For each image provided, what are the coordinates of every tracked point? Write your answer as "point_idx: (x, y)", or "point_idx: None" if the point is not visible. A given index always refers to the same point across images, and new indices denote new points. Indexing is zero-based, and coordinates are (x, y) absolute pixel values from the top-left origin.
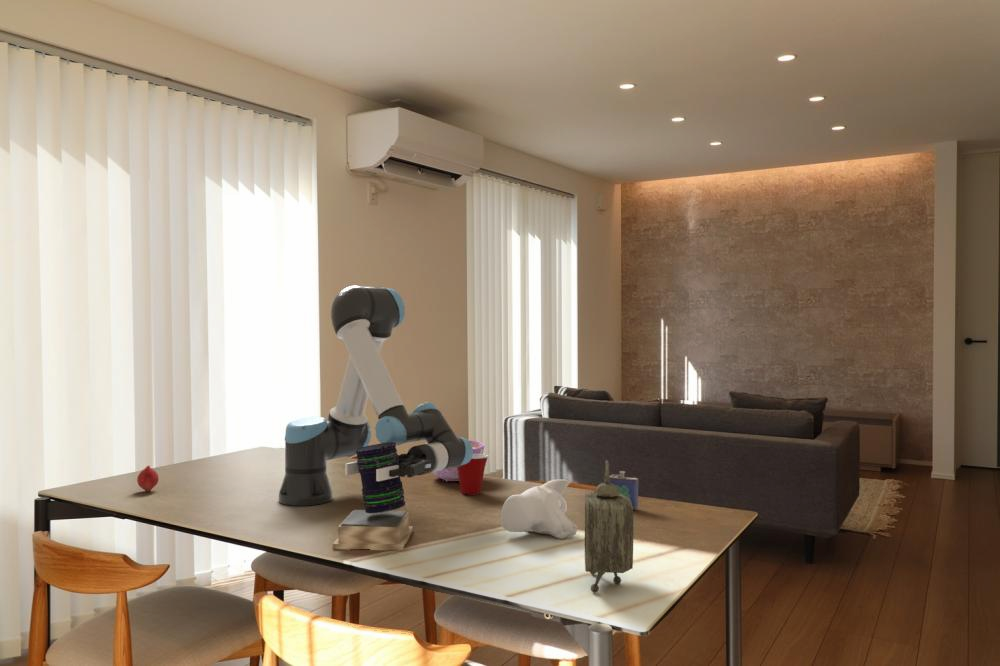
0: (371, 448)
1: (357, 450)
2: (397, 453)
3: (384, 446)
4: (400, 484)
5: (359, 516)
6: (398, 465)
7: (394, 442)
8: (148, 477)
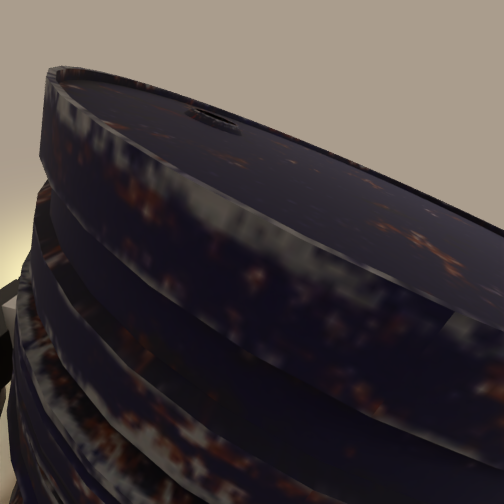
0: (325, 163)
1: (420, 198)
2: (26, 343)
3: (187, 110)
4: (16, 481)
5: None
6: (5, 304)
7: (142, 147)
8: None
